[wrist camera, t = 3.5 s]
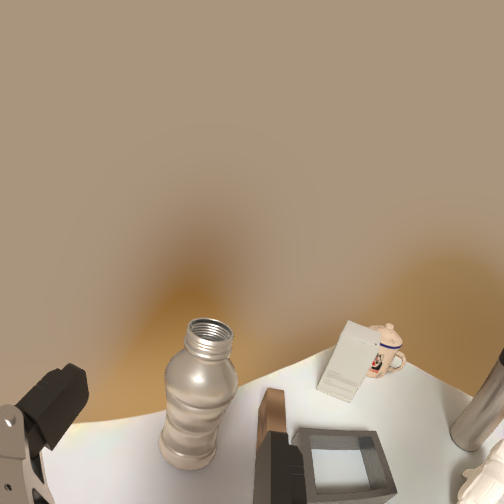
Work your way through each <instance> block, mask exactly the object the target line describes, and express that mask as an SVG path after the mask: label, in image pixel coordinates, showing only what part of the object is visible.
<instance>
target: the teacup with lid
mask: <svg viewBox="0 0 504 504" xmlns="http://www.w3.org/2000/svg"><path fill="white" fill-rule="evenodd" d="M393 328H394V326H393V325H392V324H390V323H387V324H386V325H385V326H379V325H372V326H370V327H369V329H372V330H375V331H378V332H380V333H381V338H380V349H379V352H378V353H377V355H376V357H375V359H374V361H373V363H372V365H371V367H370V369H369V371H368V372H367V374H366V376H368V377H372V378H380V377H382V376H384V375H385V373H386V371H387V370H389V371H392V372H396V371H399V370H400V369H402V368H403V366H404V365H405V363H406V357H405V355H404V354H403V353H402V352H400V351H398V349H399V348H400V347H401V346H402V339H401V337H400V336H399V335H398V334H397V333H396V332H395V331H394V330H393ZM396 354H397V355H398V356H400V357H401V358H402V364H401V366H400V367H398V368H393V367H391V366H390V364H391V362H392V361H393V359H394V357H395V355H396Z"/></svg>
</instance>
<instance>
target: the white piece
mask: <svg viewBox="0 0 504 504" xmlns="http://www.w3.org/2000/svg"><path fill="white" fill-rule="evenodd" d="M462 476H464V477H465V478H467V480H466V482H465V483H464V484H463V486H462V487H461V488H460V490H459V492H458V502H457V503H456V504H495V503H496V502H497V501H498V500H499V499H500V497H501V496H502V495H503V493H504V439H502V440H500V441H499V442H498V443H497V444H495V446H494V447H493V448H492V449H491V451H490V453H489V455H488V456H487V459H486V461H484V462H483V463H482V464H481V465H480V466H478V467H477V468H476V469H467V470H465V471H464V472H463V474H462Z"/></svg>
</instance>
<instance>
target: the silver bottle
mask: <svg viewBox="0 0 504 504" xmlns="http://www.w3.org/2000/svg"><path fill="white" fill-rule="evenodd" d="M233 334H234V333H233V330H232V329H231V328H230V327H229V326H228V325H227V324H225V323H223V322H221V321H218V320H216V319H210V318H196V319H193V320H191V321H190V322H189V323H188V326H187V332H186V336H185V338H184V347H185V348H183V349H182V350H180V351H179V352H178V353H177V354H175V355H174V356H173V357H172V358H171V360H170V362H169V363H168V365H167V367H166V369H165V388H166V397H167V416H166V420H165V425H164V428H163V430H162V432H161V435H160V438H159V448H160V451H161V454H162V456H163V458H164V459H165V460H166V461H167V462H168V463H169V464H171V465H172V466H174V467H176V468H179V469H182V470H198V469H201V468H203V467H205V466H206V465H208V463H209V462H210V461H211V460H212V459H213V457H214V455H215V452H216V434H217V428H218V426H219V423H220V421H221V419H222V416H223V414H224V412H225V410H226V409H227V407H228V405H229V404H230V402H231V400H232V399H233V397H234V395H235V393H236V390H237V388H238V379H237V372H236V370H235V368H234V366H233V364H232V362H231V361H230V359H229V358H228V357H229V356H230V354H231V350H232V345H231V344H232V340H233V337H234V336H233Z"/></svg>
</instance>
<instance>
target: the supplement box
mask: <svg viewBox="0 0 504 504" xmlns="http://www.w3.org/2000/svg"><path fill="white" fill-rule="evenodd" d="M380 338H381V333H380V332H378V331H375V330H372V329H369V328H367V327H364V326H361V325H359V324H356V323H354V322H351V321H349V320H348V321H347V323H346V325H345V327H344V329H343V330H342V332H341V334H340V337H339V340H338V342H337V344H336V347H335V349H334V351H333V353H332V356H331V358H330V360H329V362H328V364H327V367H326V369H325V371H324V373H323V375H322V377H321V379H320V382H319V384H318V386H317V388H316V389H317V390H319V391H321V392H324V393H326V394H329V395H331V396H333V397H336V398H338V399H341V400H343V401H346V402H349V403H350V401H351V400H352V398H353V397H354V395H355V393H356V392H357V390H358V388H359V386H360V385H361V383H362V381H363V380H364V378H365V376H366V374H367V372H368V371H369V369H370V367H371V365H372V363H373V361H374V359H375V357H376V355H377V353H378V352H379V349H380Z"/></svg>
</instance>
